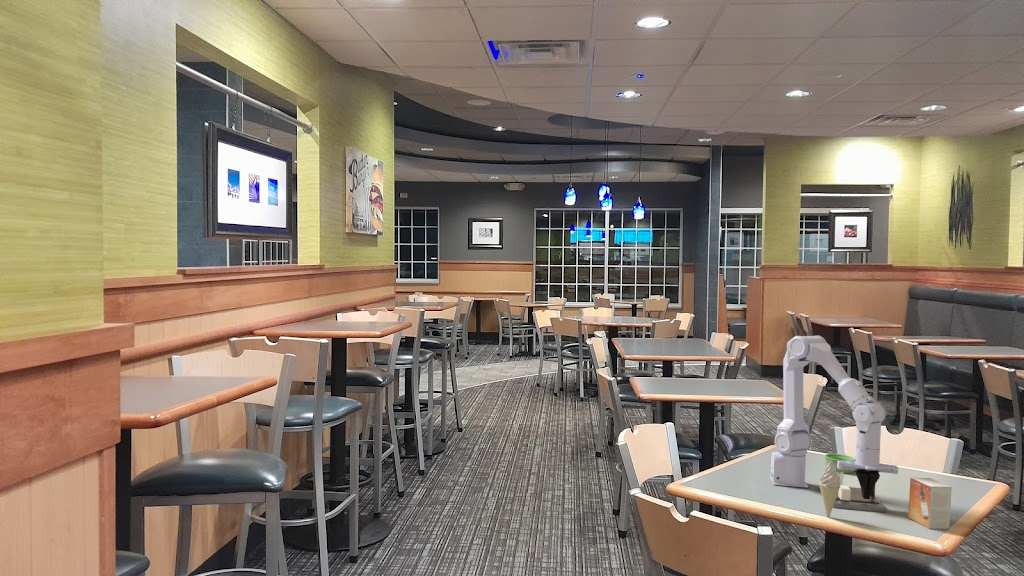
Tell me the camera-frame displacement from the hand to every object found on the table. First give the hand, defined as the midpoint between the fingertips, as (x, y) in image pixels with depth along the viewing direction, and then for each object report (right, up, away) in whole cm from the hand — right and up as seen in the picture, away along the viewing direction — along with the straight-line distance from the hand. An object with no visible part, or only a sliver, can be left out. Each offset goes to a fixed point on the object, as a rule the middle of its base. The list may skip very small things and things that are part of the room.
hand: (865, 498), depth 191 cm
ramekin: (+10, -3, +38) cm, 39 cm away
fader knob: (-5, 0, +1) cm, 5 cm away
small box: (+10, -3, -12) cm, 16 cm away
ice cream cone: (-15, -2, -10) cm, 18 cm away
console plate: (-1, -2, +5) cm, 6 cm away
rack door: (-2, 0, +12) cm, 12 cm away
